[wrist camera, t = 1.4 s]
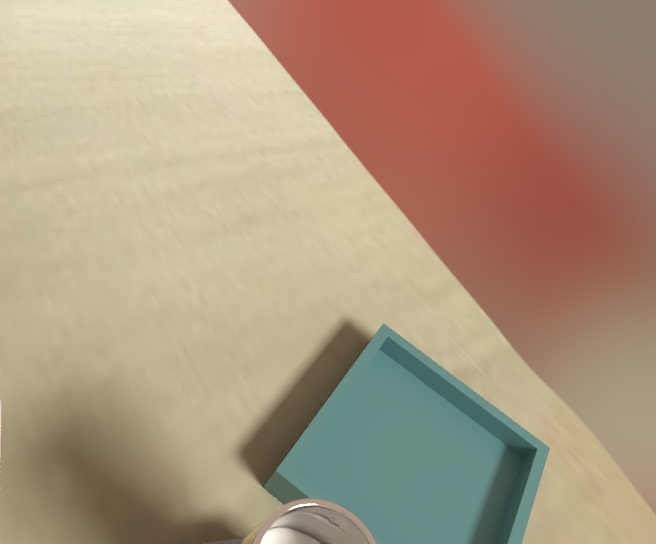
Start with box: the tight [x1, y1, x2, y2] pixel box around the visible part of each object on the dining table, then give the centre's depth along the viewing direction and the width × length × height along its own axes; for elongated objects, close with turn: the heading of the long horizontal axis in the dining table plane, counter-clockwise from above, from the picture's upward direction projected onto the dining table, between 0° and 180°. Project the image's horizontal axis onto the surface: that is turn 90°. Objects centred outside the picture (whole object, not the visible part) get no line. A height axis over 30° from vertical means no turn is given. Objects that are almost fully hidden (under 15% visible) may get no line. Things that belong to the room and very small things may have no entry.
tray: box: [263, 323, 550, 544], centre depth 47 cm, size 18×18×3 cm
